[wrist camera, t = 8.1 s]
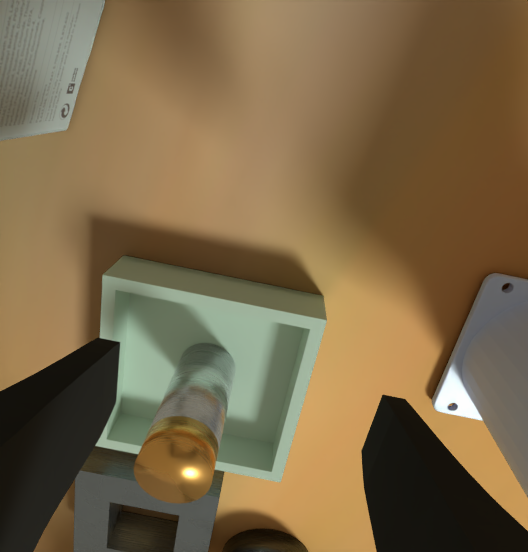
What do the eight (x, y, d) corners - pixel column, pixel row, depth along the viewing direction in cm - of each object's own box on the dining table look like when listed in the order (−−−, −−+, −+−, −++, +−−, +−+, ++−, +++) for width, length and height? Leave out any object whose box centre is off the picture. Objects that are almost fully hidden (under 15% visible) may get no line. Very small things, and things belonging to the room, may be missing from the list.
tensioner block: (339, 484, 26) (344, 527, 23) (299, 595, 30) (300, 641, 28) (94, 436, 26) (72, 474, 23) (89, 554, 30) (70, 597, 28)
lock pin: (244, 355, 22) (223, 461, 16) (224, 398, 23) (197, 513, 17) (189, 334, 22) (146, 433, 16) (172, 378, 23) (124, 487, 17)
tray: (323, 295, 21) (326, 320, 19) (281, 446, 25) (280, 482, 23) (123, 255, 21) (102, 274, 19) (113, 413, 25) (94, 445, 23)
